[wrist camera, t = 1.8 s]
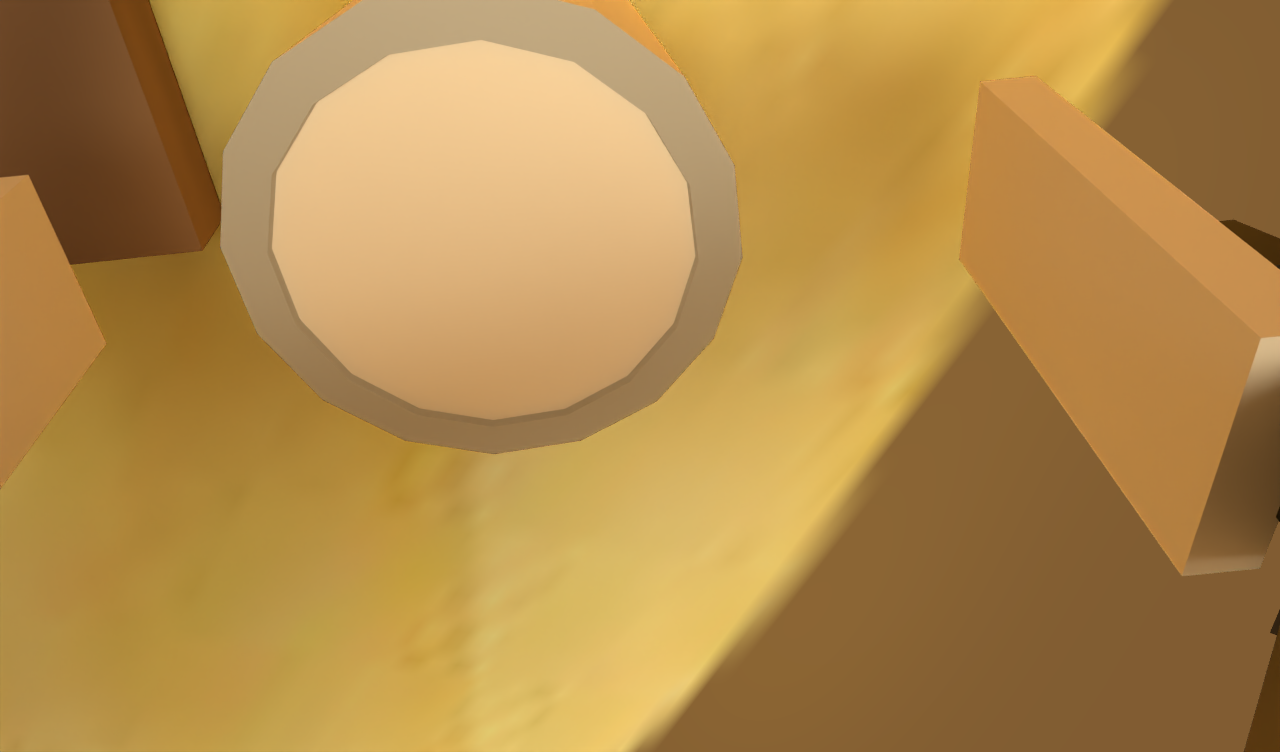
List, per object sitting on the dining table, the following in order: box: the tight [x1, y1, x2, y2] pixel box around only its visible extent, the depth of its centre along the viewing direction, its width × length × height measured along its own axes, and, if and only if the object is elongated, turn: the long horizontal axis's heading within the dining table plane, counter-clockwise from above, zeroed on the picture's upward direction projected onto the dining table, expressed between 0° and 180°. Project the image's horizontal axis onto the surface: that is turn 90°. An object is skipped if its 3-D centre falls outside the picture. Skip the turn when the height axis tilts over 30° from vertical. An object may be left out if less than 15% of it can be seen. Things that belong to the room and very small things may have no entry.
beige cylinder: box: [220, 0, 742, 454], centre depth 16 cm, size 7×7×7 cm
